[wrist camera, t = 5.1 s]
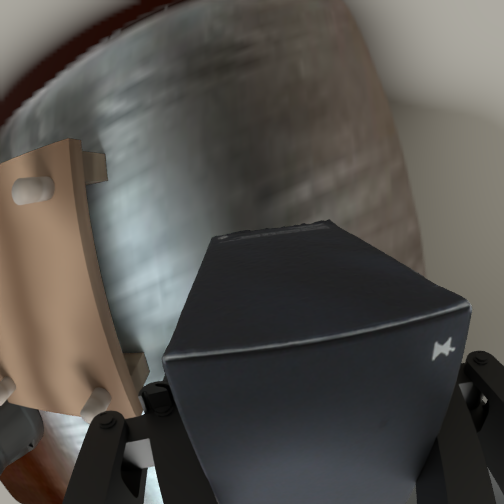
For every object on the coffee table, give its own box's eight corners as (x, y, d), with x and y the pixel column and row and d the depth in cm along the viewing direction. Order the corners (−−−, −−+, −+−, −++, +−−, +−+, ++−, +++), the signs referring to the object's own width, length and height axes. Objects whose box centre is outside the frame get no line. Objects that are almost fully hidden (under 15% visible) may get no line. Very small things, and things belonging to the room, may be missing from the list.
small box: (201, 234, 15) (136, 351, 5) (333, 217, 15) (487, 287, 5) (234, 405, 17) (238, 560, 7) (338, 388, 17) (401, 525, 7)
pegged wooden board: (37, 370, 24) (-4, 418, 16) (-11, 185, 20) (-77, 195, 11) (156, 376, 24) (129, 446, 16) (110, 146, 20) (43, 133, 11)
